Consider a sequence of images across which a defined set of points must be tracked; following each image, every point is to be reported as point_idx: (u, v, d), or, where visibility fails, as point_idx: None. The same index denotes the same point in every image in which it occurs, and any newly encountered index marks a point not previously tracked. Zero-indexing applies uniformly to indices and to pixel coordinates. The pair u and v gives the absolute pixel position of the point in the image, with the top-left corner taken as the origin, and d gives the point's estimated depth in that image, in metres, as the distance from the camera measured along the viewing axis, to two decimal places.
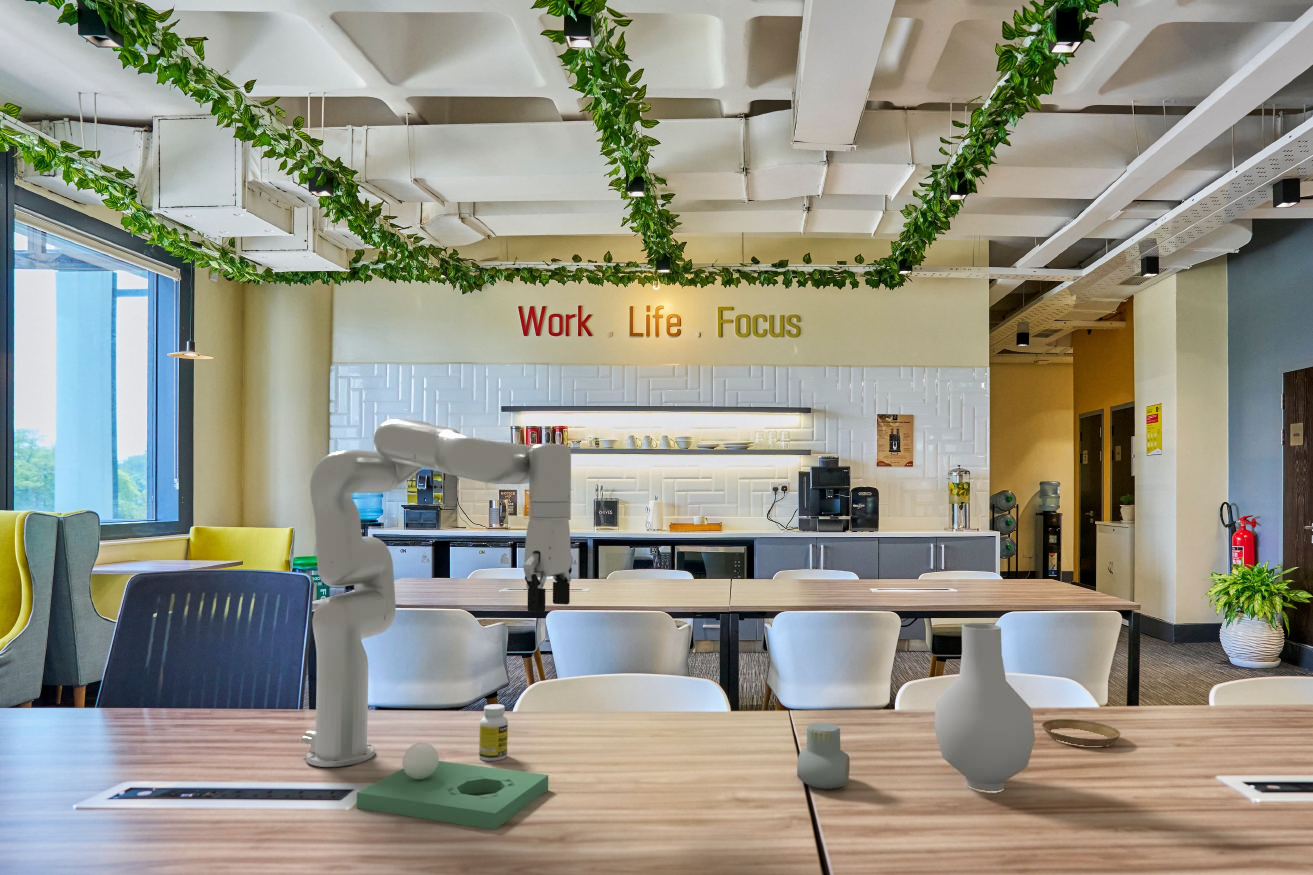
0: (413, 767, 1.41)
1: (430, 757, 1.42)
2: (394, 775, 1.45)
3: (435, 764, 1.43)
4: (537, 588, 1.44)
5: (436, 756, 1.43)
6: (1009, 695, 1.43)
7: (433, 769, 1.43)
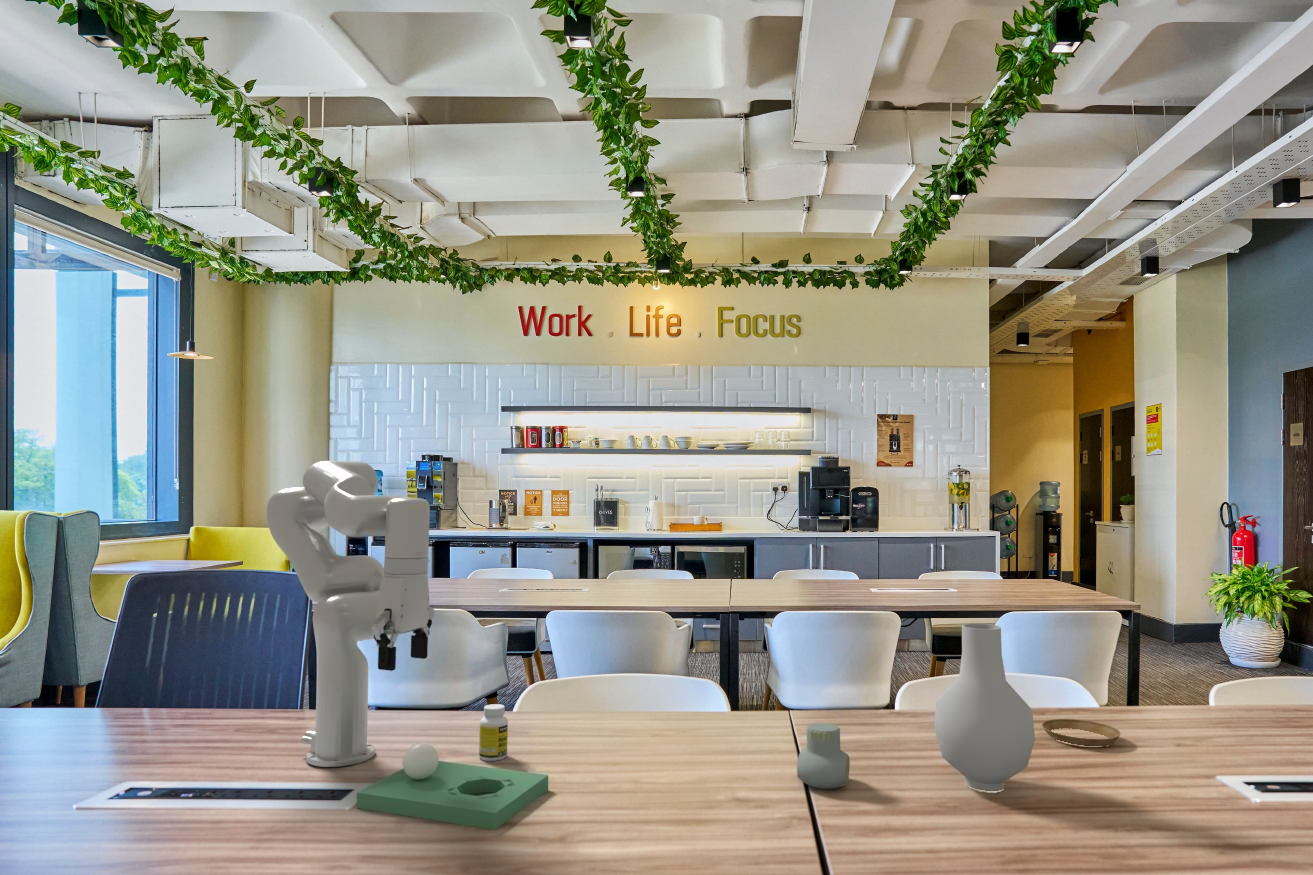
0: (413, 767, 1.41)
1: (430, 757, 1.42)
2: (394, 775, 1.45)
3: (435, 764, 1.43)
4: (387, 647, 1.42)
5: (436, 756, 1.43)
6: (1009, 695, 1.43)
7: (433, 769, 1.43)
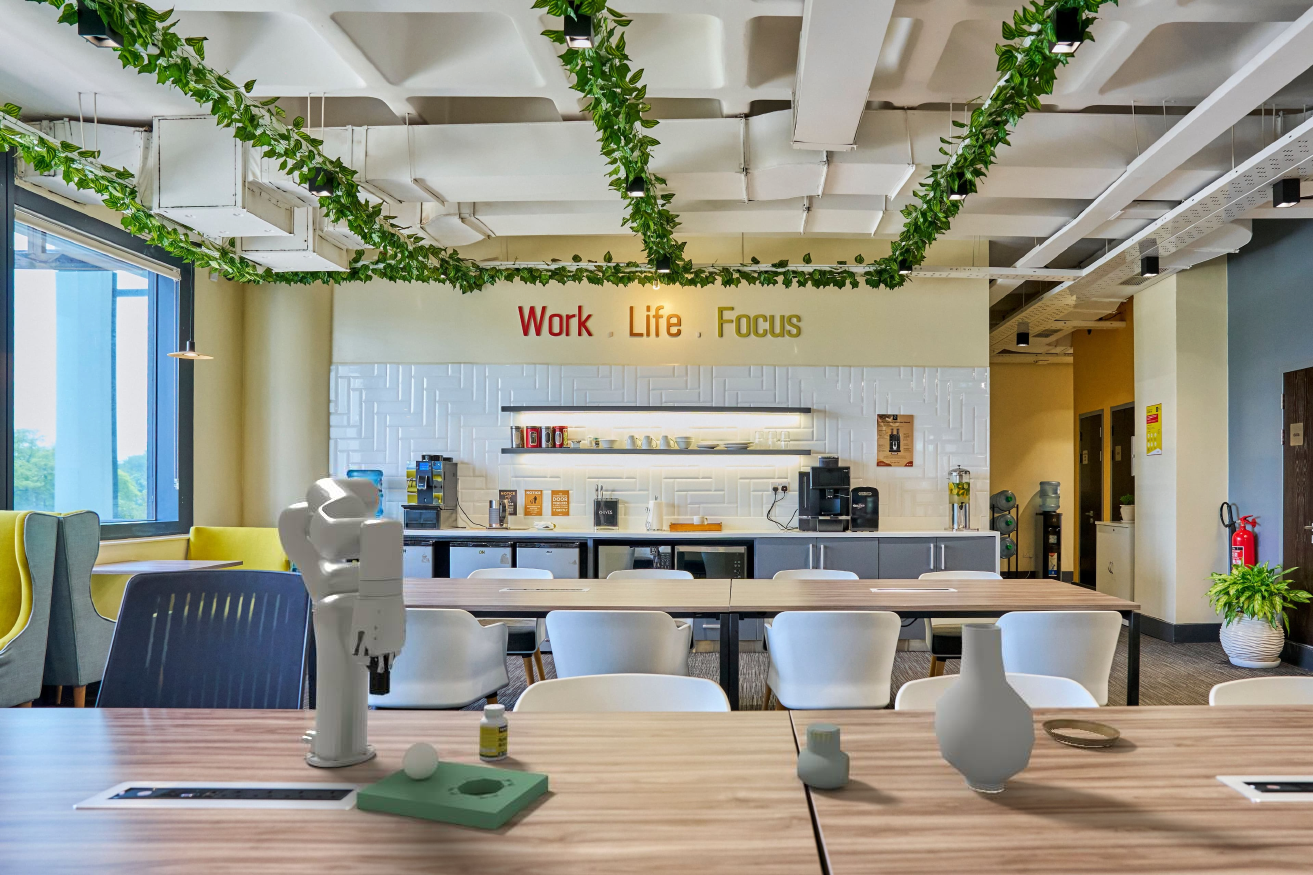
0: (413, 767, 1.41)
1: (430, 757, 1.42)
2: (394, 775, 1.45)
3: (435, 764, 1.43)
4: (377, 672, 1.46)
5: (436, 756, 1.43)
6: (1009, 695, 1.43)
7: (433, 769, 1.43)
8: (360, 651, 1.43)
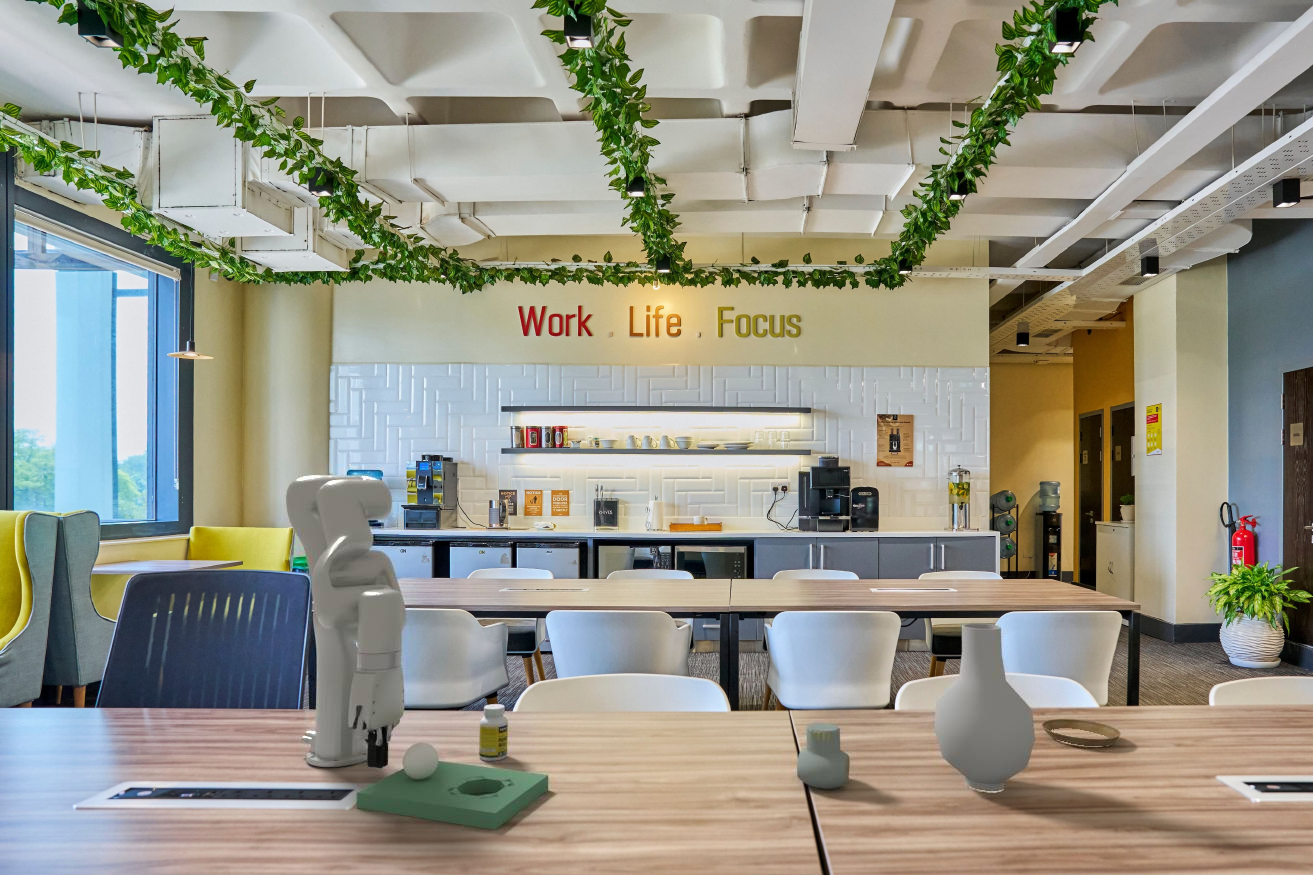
0: (413, 767, 1.41)
1: (430, 757, 1.42)
2: (394, 775, 1.45)
3: (435, 764, 1.43)
4: (375, 745, 1.45)
5: (436, 756, 1.43)
6: (1009, 695, 1.43)
7: (433, 769, 1.43)
8: (358, 725, 1.43)
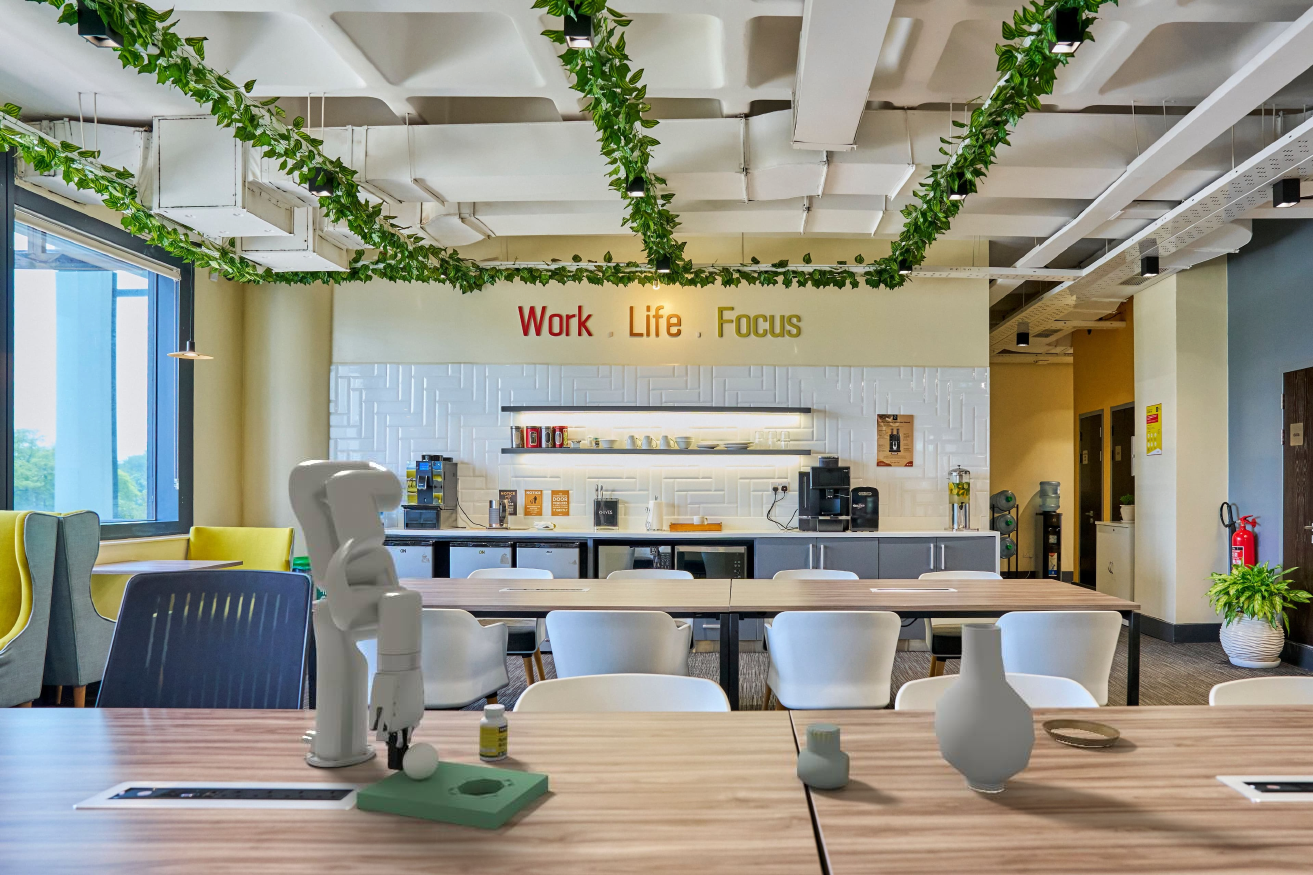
0: (413, 767, 1.41)
1: (430, 757, 1.42)
2: (394, 775, 1.45)
3: (435, 764, 1.43)
4: (396, 747, 1.44)
5: (436, 756, 1.43)
6: (1009, 695, 1.43)
7: (433, 769, 1.43)
8: (379, 727, 1.41)
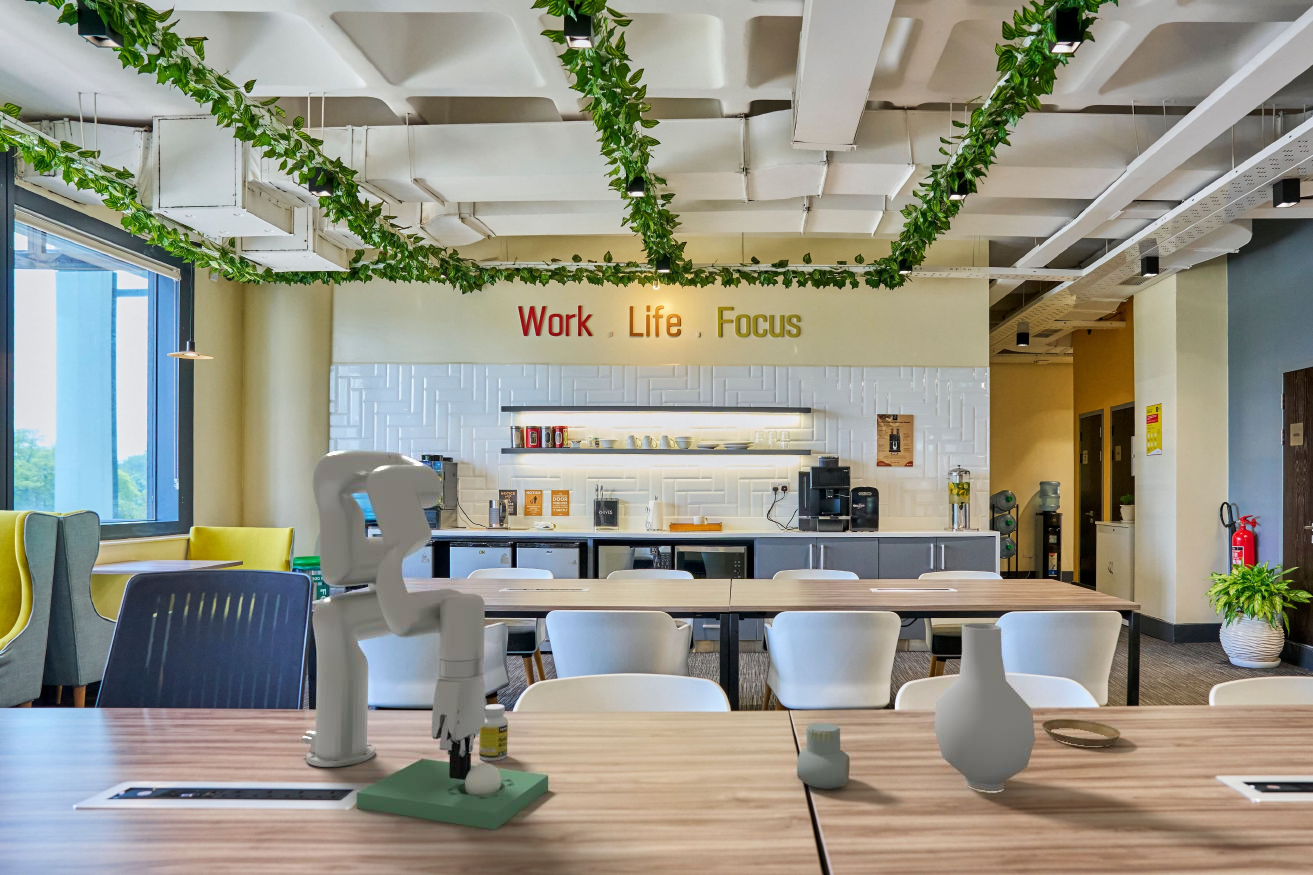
0: (474, 784, 1.37)
1: (471, 769, 1.39)
2: (394, 775, 1.45)
3: (481, 763, 1.40)
4: (458, 755, 1.40)
5: None
6: (1009, 695, 1.43)
7: (484, 764, 1.39)
8: (442, 735, 1.37)
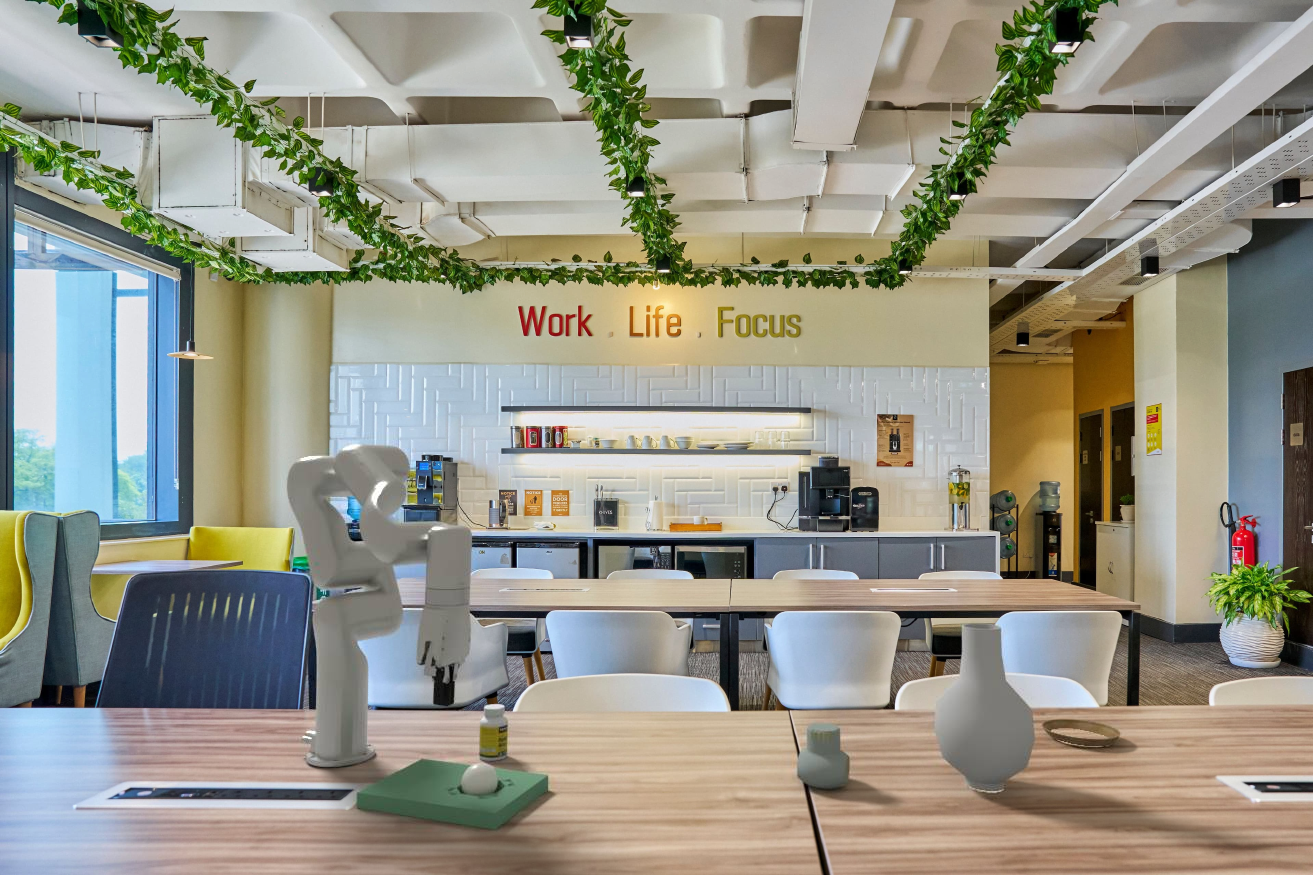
0: (469, 784, 1.37)
1: (465, 771, 1.40)
2: (394, 775, 1.45)
3: (474, 764, 1.40)
4: (442, 682, 1.42)
5: (470, 766, 1.41)
6: (1009, 695, 1.43)
7: (477, 763, 1.40)
8: (427, 661, 1.39)
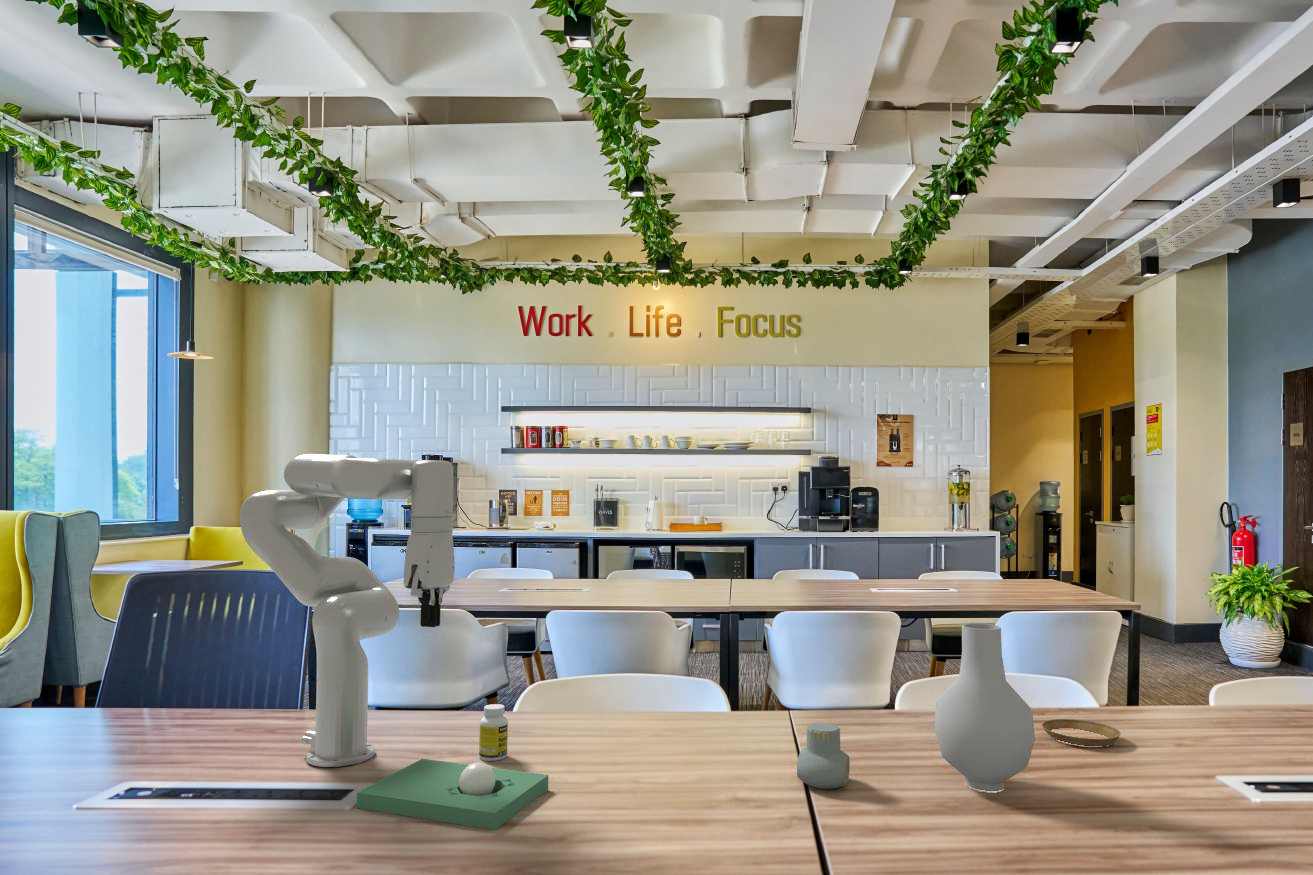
0: (467, 783, 1.37)
1: None
2: (394, 775, 1.45)
3: None
4: (428, 604, 1.52)
5: None
6: (1009, 695, 1.43)
7: None
8: (413, 584, 1.50)
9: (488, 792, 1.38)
